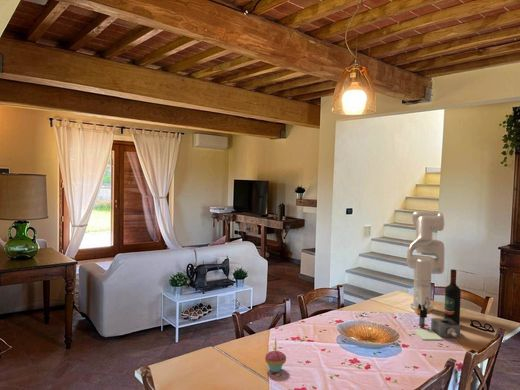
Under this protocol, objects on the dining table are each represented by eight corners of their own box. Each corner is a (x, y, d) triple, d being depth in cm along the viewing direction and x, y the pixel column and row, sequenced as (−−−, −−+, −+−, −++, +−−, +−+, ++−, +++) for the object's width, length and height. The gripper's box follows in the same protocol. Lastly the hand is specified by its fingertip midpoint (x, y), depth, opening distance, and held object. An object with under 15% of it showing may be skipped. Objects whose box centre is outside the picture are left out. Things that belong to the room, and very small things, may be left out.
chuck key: (414, 325, 205) (414, 308, 205) (427, 325, 205) (427, 308, 205) (416, 327, 202) (416, 310, 202) (429, 327, 202) (430, 310, 202)
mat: (412, 330, 199) (412, 329, 199) (431, 330, 199) (431, 329, 199) (422, 340, 187) (422, 338, 187) (442, 340, 187) (443, 339, 187)
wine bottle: (461, 327, 205) (463, 271, 204) (446, 326, 206) (448, 271, 205) (457, 322, 212) (458, 268, 211) (442, 321, 214) (444, 268, 213)
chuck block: (431, 329, 201) (431, 318, 201) (449, 329, 201) (450, 318, 201) (444, 341, 186) (445, 328, 186) (465, 341, 186) (465, 329, 186)
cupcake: (264, 364, 158) (264, 335, 158) (284, 364, 159) (284, 335, 159) (266, 374, 150) (266, 344, 150) (287, 374, 151) (288, 344, 150)
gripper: (410, 278, 211) (409, 310, 212) (422, 286, 194) (421, 322, 195) (423, 278, 211) (422, 311, 212) (437, 286, 194) (436, 322, 195)
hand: (422, 316), depth 203 cm, fingers closed on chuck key, 2 cm apart
